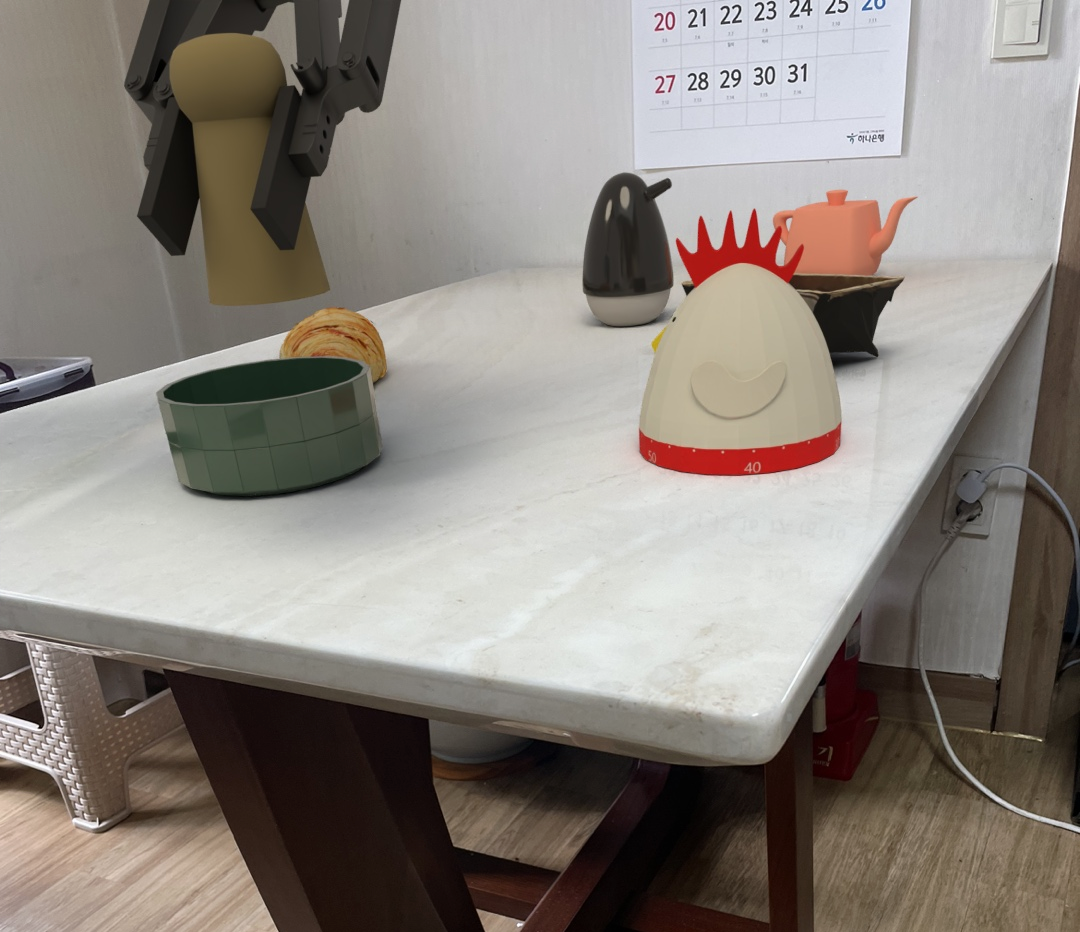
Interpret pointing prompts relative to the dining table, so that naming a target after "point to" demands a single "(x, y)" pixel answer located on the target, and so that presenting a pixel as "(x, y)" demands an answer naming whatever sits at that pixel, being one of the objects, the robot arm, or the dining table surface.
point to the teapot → (839, 234)
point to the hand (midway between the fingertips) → (216, 232)
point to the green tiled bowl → (271, 425)
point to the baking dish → (843, 306)
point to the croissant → (337, 339)
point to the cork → (239, 169)
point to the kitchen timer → (740, 367)
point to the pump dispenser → (627, 253)
